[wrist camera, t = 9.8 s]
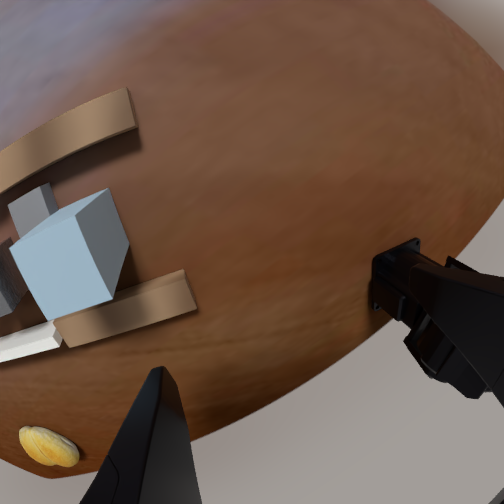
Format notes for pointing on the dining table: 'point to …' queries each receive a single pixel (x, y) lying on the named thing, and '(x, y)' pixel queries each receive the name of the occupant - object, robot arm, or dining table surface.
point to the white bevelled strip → (29, 341)
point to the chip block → (10, 280)
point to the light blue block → (68, 249)
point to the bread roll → (48, 446)
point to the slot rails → (59, 147)
